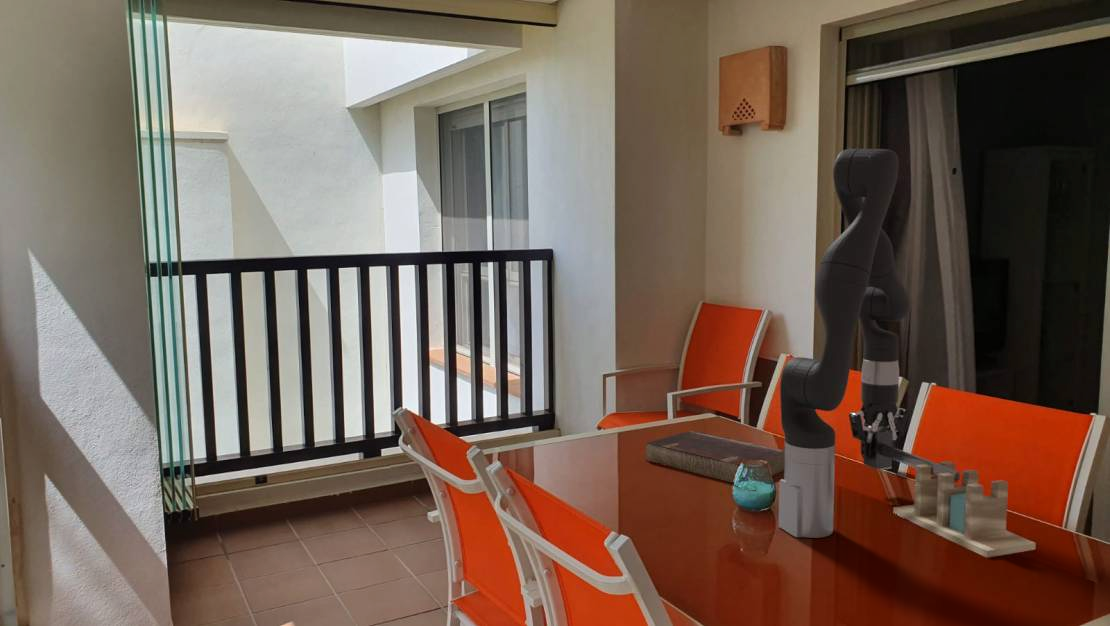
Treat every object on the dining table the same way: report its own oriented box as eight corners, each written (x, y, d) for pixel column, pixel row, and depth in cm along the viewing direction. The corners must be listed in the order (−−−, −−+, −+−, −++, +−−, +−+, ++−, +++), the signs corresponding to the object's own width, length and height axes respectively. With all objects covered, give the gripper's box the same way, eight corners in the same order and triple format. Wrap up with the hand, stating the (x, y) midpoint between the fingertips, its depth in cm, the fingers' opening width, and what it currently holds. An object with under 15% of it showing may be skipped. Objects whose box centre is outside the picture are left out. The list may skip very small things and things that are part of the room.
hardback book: (789, 470, 204) (790, 449, 204) (745, 488, 191) (745, 466, 191) (692, 447, 225) (692, 429, 224) (646, 462, 212) (646, 442, 212)
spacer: (949, 526, 161) (950, 495, 161) (973, 523, 163) (975, 491, 163) (963, 533, 158) (965, 501, 157) (988, 529, 160) (990, 497, 159)
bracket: (893, 513, 173) (895, 460, 171) (937, 507, 176) (939, 455, 175) (986, 557, 150) (989, 497, 149) (1035, 549, 153) (1038, 490, 152)
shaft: (863, 464, 186) (864, 428, 185) (879, 462, 187) (880, 426, 186) (945, 498, 163) (947, 457, 162) (962, 495, 165) (964, 455, 164)
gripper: (863, 385, 177) (860, 465, 179) (919, 380, 181) (917, 458, 183) (840, 379, 184) (838, 456, 186) (895, 374, 188) (893, 449, 190)
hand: (877, 457), depth 185 cm, fingers open, 5 cm apart
